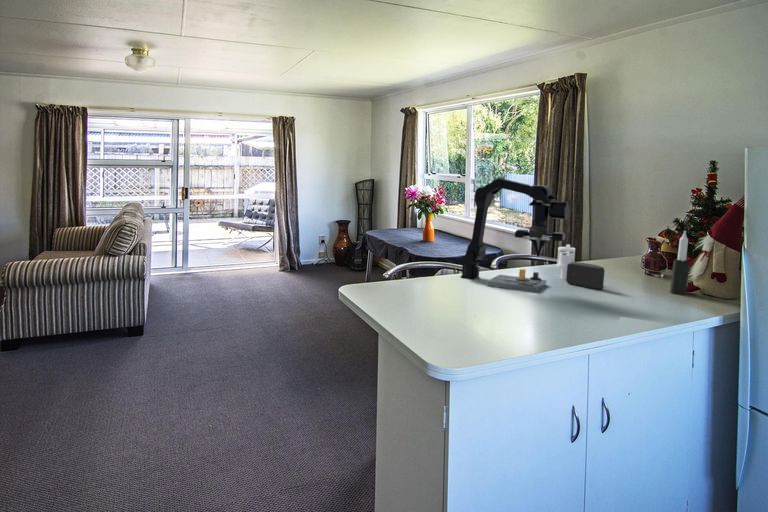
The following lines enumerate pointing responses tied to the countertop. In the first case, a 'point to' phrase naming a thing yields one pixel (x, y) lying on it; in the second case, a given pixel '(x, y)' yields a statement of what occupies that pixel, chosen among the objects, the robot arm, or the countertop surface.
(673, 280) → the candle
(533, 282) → the breaker panel
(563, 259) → the white stepped cylinder
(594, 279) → the dark rounded block
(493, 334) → the countertop surface
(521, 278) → the block
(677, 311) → the countertop surface
